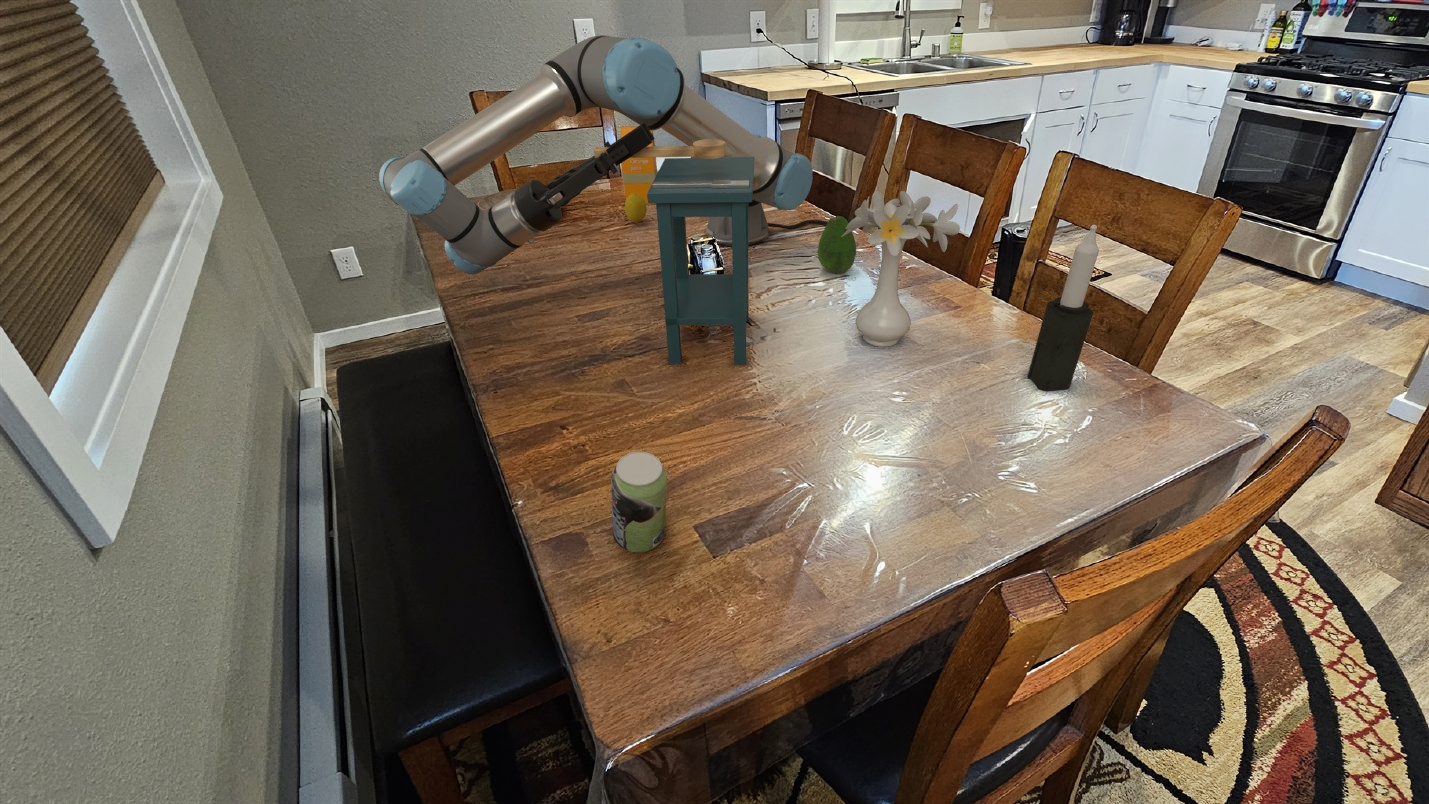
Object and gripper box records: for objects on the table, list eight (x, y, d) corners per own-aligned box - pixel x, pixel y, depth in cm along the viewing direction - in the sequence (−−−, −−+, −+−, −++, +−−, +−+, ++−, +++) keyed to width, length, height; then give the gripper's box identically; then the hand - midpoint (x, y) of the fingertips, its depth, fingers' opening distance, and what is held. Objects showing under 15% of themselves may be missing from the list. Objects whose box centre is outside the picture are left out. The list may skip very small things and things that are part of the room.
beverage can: (636, 513, 81) (626, 435, 74) (684, 536, 77) (678, 457, 71) (602, 544, 77) (587, 465, 70) (650, 571, 73) (640, 490, 66)
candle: (1024, 374, 105) (1066, 219, 91) (1055, 372, 105) (1101, 217, 91) (1040, 391, 100) (1086, 232, 87) (1072, 389, 101) (1124, 230, 87)
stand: (662, 367, 110) (647, 193, 94) (676, 314, 127) (664, 158, 110) (752, 368, 109) (752, 191, 93) (754, 314, 125) (754, 156, 109)
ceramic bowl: (586, 210, 183) (583, 191, 180) (524, 236, 166) (520, 216, 163) (526, 198, 193) (523, 181, 190) (462, 222, 177) (458, 204, 174)
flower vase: (949, 344, 114) (977, 199, 100) (855, 364, 109) (870, 215, 95) (907, 313, 124) (927, 177, 110) (819, 330, 119) (828, 191, 105)
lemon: (644, 227, 169) (641, 196, 164) (623, 227, 170) (620, 195, 165) (650, 220, 173) (647, 190, 169) (630, 220, 174) (627, 189, 170)
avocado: (831, 262, 146) (835, 208, 139) (861, 271, 141) (866, 216, 134) (808, 273, 141) (811, 218, 134) (838, 282, 136) (843, 226, 130)
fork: (652, 189, 95) (651, 185, 95) (654, 184, 97) (654, 180, 97) (748, 188, 94) (748, 184, 94) (749, 183, 96) (749, 179, 96)
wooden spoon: (592, 160, 98) (590, 148, 97) (599, 153, 102) (597, 140, 101) (724, 159, 97) (724, 146, 96) (726, 151, 101) (726, 138, 100)
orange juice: (657, 204, 185) (650, 128, 174) (625, 205, 185) (617, 129, 174) (659, 195, 191) (653, 122, 180) (629, 196, 192) (621, 123, 181)
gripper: (555, 217, 114) (668, 143, 106) (530, 248, 101) (655, 167, 93) (527, 179, 110) (641, 100, 102) (497, 206, 98) (624, 119, 90)
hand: (647, 132), depth 98 cm, fingers closed on wooden spoon, 2 cm apart
